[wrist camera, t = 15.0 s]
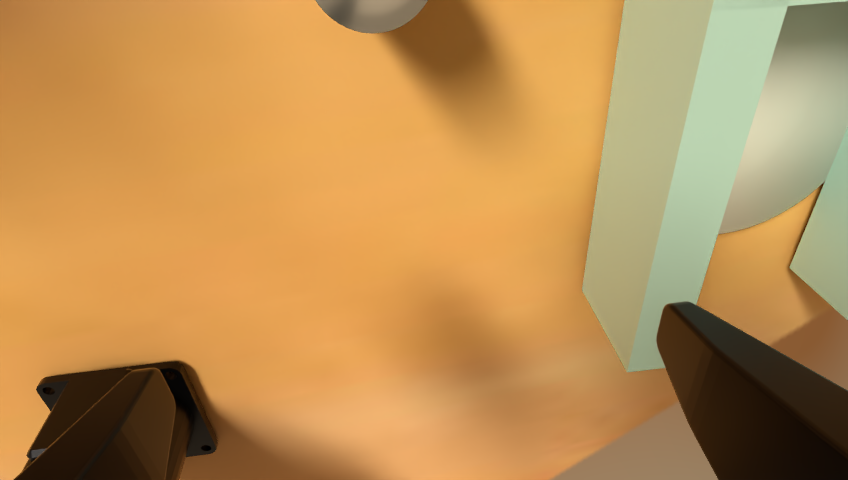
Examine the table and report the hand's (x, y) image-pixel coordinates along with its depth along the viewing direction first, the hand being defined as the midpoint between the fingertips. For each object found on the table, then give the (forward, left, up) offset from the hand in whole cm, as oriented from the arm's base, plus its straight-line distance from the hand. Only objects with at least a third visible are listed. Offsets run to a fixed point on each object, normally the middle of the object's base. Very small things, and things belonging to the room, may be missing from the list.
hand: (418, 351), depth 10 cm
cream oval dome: (-2, -14, -12) cm, 19 cm away
